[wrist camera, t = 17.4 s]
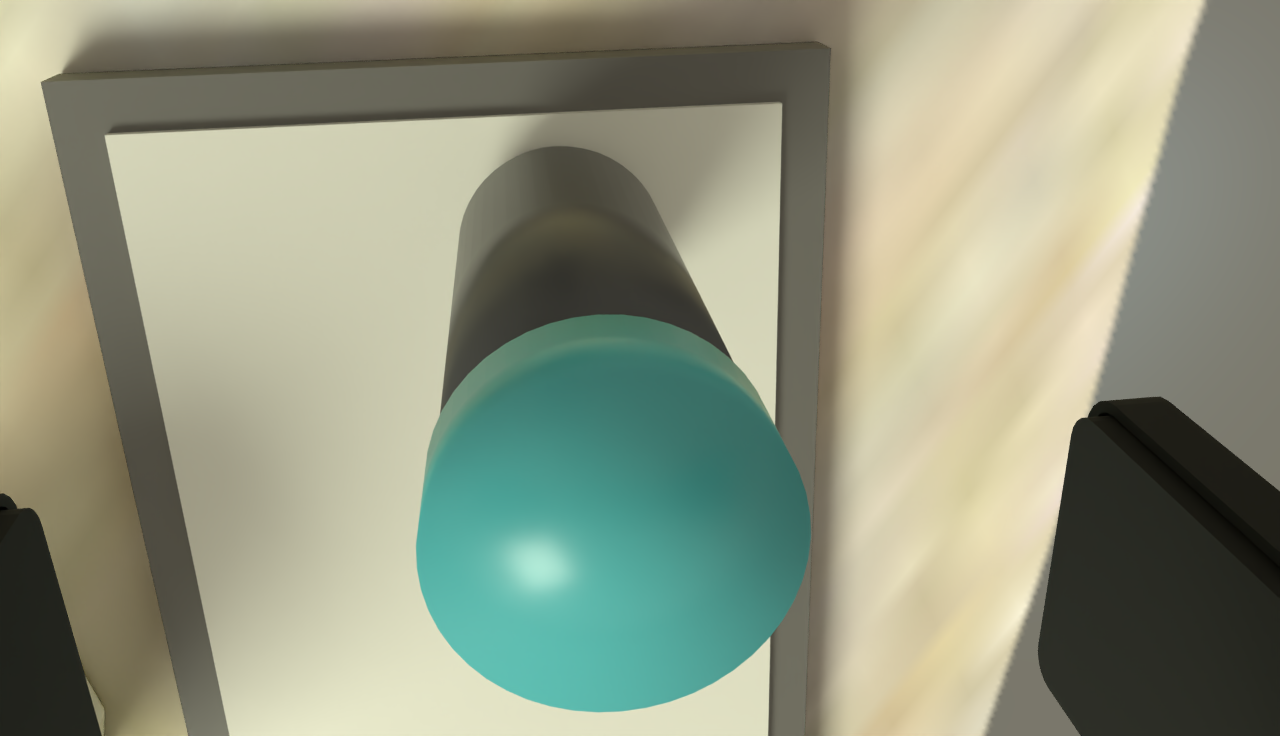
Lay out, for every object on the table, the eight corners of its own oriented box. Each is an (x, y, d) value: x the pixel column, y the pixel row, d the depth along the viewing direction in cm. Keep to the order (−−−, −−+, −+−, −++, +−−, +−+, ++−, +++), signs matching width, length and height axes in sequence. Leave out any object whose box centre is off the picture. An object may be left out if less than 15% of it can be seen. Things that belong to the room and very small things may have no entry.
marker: (446, 135, 22) (396, 383, 11) (660, 126, 23) (818, 356, 12) (463, 336, 24) (435, 729, 13) (663, 324, 24) (804, 694, 13)
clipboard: (59, 73, 22) (20, 90, 20) (817, 41, 24) (844, 55, 22) (242, 909, 31) (226, 974, 29) (790, 850, 32) (808, 907, 30)
